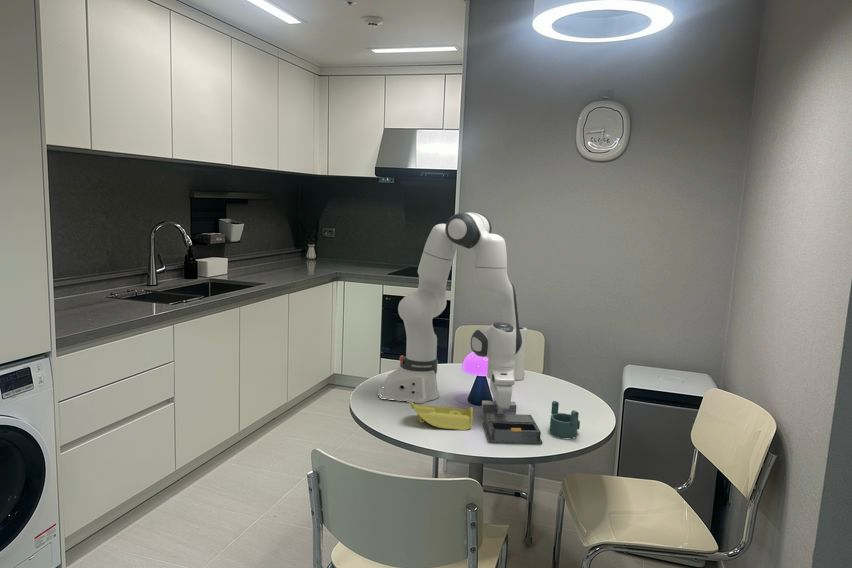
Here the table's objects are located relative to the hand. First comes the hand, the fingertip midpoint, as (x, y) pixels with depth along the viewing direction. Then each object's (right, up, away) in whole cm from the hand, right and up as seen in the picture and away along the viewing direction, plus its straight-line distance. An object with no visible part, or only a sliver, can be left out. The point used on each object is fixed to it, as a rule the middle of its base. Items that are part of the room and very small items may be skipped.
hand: (498, 412), depth 185 cm
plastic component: (-19, -2, -6) cm, 20 cm away
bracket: (+19, -4, -11) cm, 23 cm away
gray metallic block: (0, -2, 0) cm, 2 cm away
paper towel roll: (+14, +3, +45) cm, 47 cm away
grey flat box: (+2, -4, -14) cm, 14 cm away
